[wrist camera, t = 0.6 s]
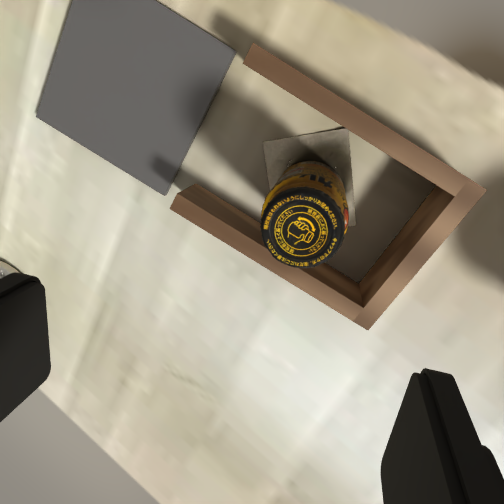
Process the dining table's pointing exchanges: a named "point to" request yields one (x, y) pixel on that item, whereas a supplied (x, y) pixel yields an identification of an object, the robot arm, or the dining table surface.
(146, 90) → the mat
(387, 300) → the frame
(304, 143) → the condiment
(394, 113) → the dining table surface
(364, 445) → the dining table surface
